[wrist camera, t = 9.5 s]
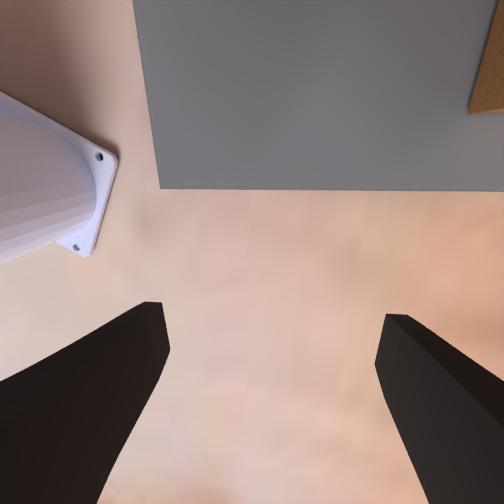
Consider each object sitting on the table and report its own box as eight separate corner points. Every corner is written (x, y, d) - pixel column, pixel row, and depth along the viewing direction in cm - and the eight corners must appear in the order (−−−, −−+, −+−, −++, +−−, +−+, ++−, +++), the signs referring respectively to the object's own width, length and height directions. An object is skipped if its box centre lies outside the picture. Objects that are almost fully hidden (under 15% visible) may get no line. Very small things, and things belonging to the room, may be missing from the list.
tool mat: (170, 185, 16) (120, 202, 11) (135, -81, 12) (23, -255, 7) (592, 188, 14) (772, 212, 9) (763, -152, 9) (1358, -519, 4)
